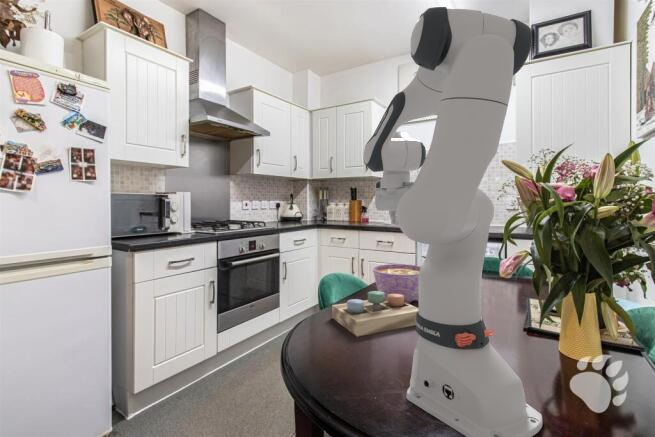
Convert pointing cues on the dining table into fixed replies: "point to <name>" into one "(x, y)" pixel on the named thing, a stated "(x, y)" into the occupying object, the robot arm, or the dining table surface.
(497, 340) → the dining table surface
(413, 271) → the bowl of food
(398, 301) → the button terracotta
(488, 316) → the dining table surface
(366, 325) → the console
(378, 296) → the button green
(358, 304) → the button slate
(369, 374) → the dining table surface
